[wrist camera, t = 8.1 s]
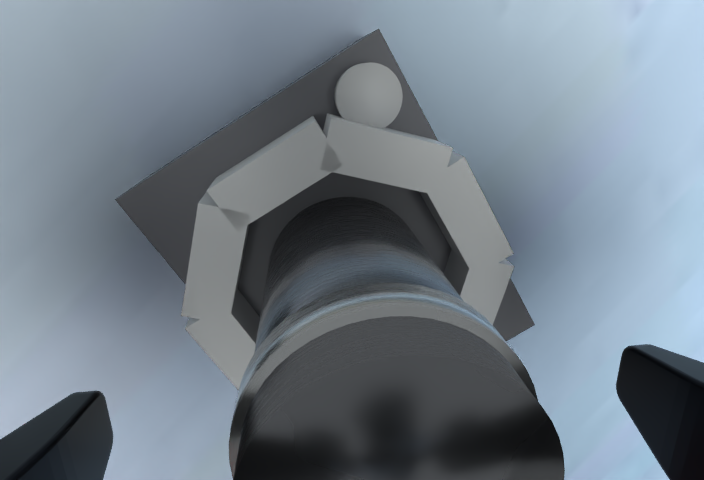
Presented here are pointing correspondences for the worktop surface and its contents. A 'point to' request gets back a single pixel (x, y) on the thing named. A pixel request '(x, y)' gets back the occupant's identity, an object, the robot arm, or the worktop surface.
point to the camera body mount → (317, 197)
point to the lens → (379, 366)
